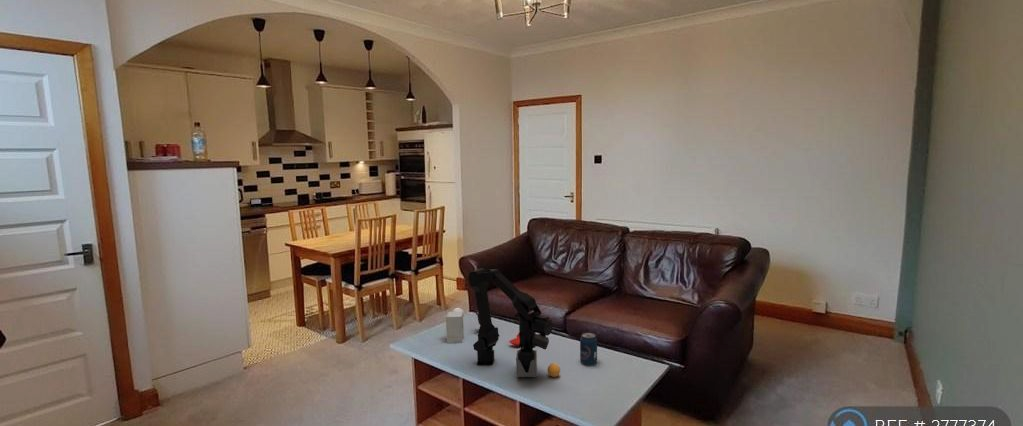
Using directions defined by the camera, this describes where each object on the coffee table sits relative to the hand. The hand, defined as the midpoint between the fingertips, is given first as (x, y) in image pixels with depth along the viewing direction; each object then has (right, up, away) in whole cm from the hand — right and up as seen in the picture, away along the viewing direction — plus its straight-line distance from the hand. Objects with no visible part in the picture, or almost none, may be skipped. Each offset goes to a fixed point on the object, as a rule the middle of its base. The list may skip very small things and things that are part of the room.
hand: (527, 367), depth 189 cm
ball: (+10, -1, -1) cm, 10 cm away
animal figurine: (0, 0, +31) cm, 31 cm away
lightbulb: (-33, +3, +50) cm, 60 cm away
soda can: (+26, -2, +11) cm, 28 cm away
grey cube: (0, -2, 0) cm, 2 cm away
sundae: (-20, +2, +46) cm, 50 cm away
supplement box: (-33, +1, +38) cm, 50 cm away
